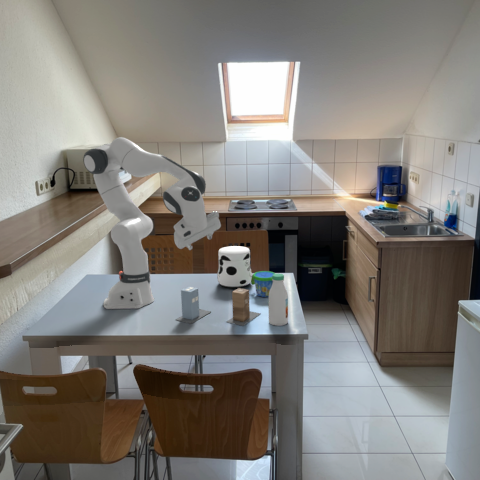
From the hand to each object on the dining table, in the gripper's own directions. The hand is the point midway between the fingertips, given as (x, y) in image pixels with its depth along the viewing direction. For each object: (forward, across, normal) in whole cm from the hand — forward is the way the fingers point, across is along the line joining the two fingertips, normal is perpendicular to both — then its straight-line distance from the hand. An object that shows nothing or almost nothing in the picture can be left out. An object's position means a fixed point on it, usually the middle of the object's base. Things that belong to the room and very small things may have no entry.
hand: (200, 243), depth 198 cm
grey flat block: (+20, +16, +17) cm, 31 cm away
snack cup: (+35, -20, +18) cm, 44 cm away
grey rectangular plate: (+18, 0, +31) cm, 36 cm away
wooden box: (+17, +1, +31) cm, 36 cm away
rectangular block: (+19, +18, +18) cm, 31 cm away
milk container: (+44, -14, 0) cm, 46 cm away
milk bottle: (+16, -10, +42) cm, 46 cm away
